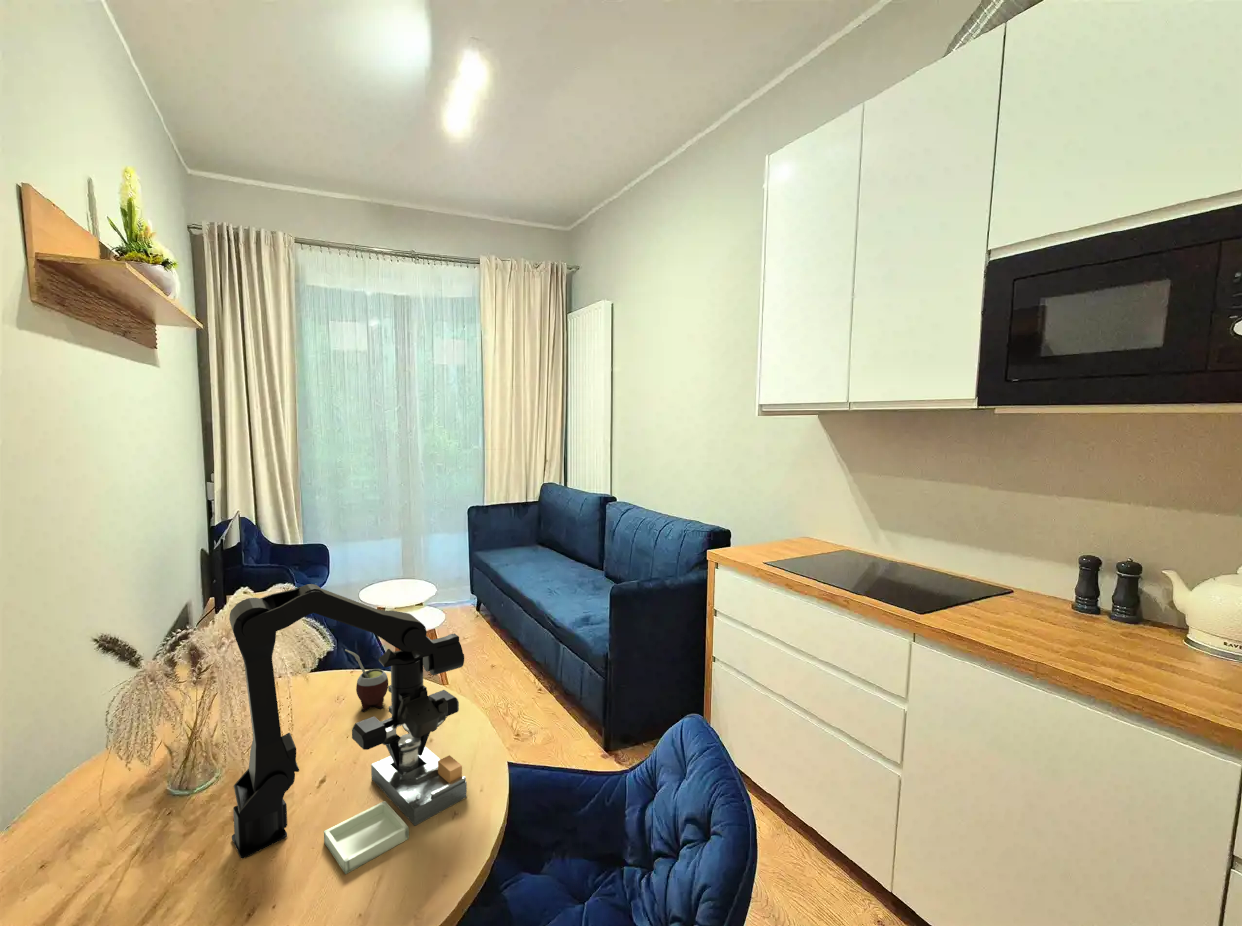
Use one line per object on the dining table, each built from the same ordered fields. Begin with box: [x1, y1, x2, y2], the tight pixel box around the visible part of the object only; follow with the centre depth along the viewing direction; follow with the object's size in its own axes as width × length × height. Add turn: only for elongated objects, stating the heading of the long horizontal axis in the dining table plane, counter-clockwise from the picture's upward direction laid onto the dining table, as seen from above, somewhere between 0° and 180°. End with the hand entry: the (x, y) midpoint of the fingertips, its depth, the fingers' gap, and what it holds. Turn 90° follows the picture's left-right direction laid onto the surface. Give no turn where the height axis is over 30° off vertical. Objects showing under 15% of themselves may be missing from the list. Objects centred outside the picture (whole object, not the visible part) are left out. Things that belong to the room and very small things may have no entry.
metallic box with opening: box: [370, 746, 468, 826], centre depth 103 cm, size 10×18×4 cm, turn 47°
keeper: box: [438, 754, 463, 783], centre depth 102 cm, size 2×4×2 cm, turn 47°
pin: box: [398, 733, 421, 776], centre depth 105 cm, size 5×5×8 cm
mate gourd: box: [344, 649, 389, 713], centre depth 131 cm, size 8×8×15 cm
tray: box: [323, 800, 410, 875], centre depth 90 cm, size 10×9×2 cm
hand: (408, 759), depth 106 cm, fingers closed on pin, 4 cm apart
